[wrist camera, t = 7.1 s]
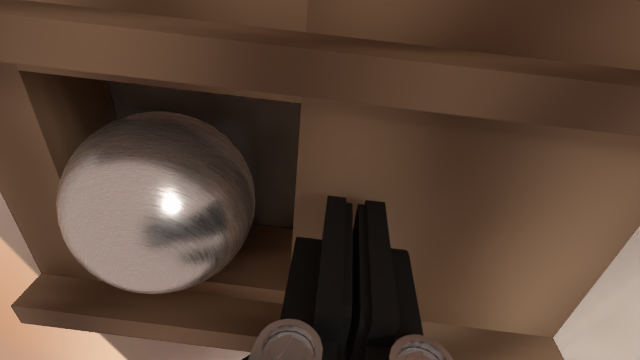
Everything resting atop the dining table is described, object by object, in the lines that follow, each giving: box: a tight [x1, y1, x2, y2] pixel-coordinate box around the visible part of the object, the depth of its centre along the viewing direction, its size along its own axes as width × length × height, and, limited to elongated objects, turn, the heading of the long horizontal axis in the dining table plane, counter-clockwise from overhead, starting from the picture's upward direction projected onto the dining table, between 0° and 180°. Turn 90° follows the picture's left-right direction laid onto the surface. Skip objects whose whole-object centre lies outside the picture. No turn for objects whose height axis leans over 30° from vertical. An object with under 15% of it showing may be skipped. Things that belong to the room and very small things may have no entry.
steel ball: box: [56, 111, 255, 294], centre depth 12 cm, size 6×6×6 cm
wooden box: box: [0, 0, 640, 360], centre depth 12 cm, size 20×16×5 cm
